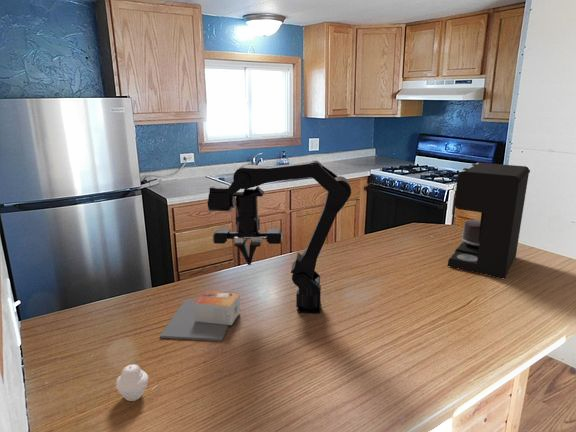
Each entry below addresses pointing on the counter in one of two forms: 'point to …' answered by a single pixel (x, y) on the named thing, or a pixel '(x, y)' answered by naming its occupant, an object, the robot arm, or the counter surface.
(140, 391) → the muffin
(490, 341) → the counter surface
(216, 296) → the small box
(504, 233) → the coffee maker
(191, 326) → the mat
